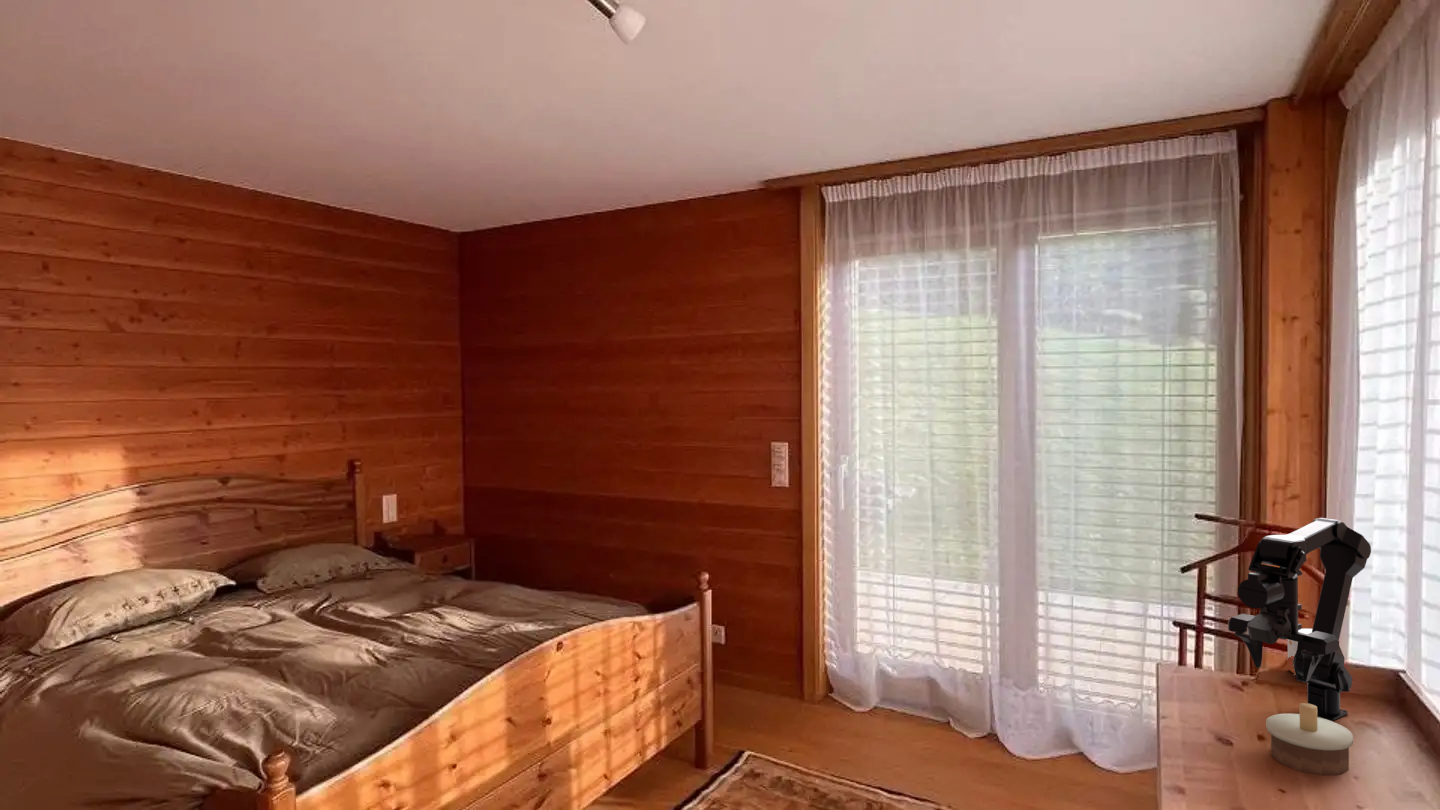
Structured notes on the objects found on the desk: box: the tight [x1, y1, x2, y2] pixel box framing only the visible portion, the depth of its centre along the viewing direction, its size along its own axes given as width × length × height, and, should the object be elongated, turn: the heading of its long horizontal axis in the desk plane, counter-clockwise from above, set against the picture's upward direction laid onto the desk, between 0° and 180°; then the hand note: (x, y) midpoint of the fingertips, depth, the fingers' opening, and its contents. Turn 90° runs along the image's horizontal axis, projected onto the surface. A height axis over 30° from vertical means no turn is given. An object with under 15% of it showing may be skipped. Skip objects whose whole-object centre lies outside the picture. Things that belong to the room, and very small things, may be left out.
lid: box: [1265, 702, 1354, 750], centre depth 161 cm, size 14×14×7 cm
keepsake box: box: [1270, 733, 1350, 776], centre depth 161 cm, size 12×12×5 cm
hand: (1281, 674), depth 172 cm, fingers open, 9 cm apart
